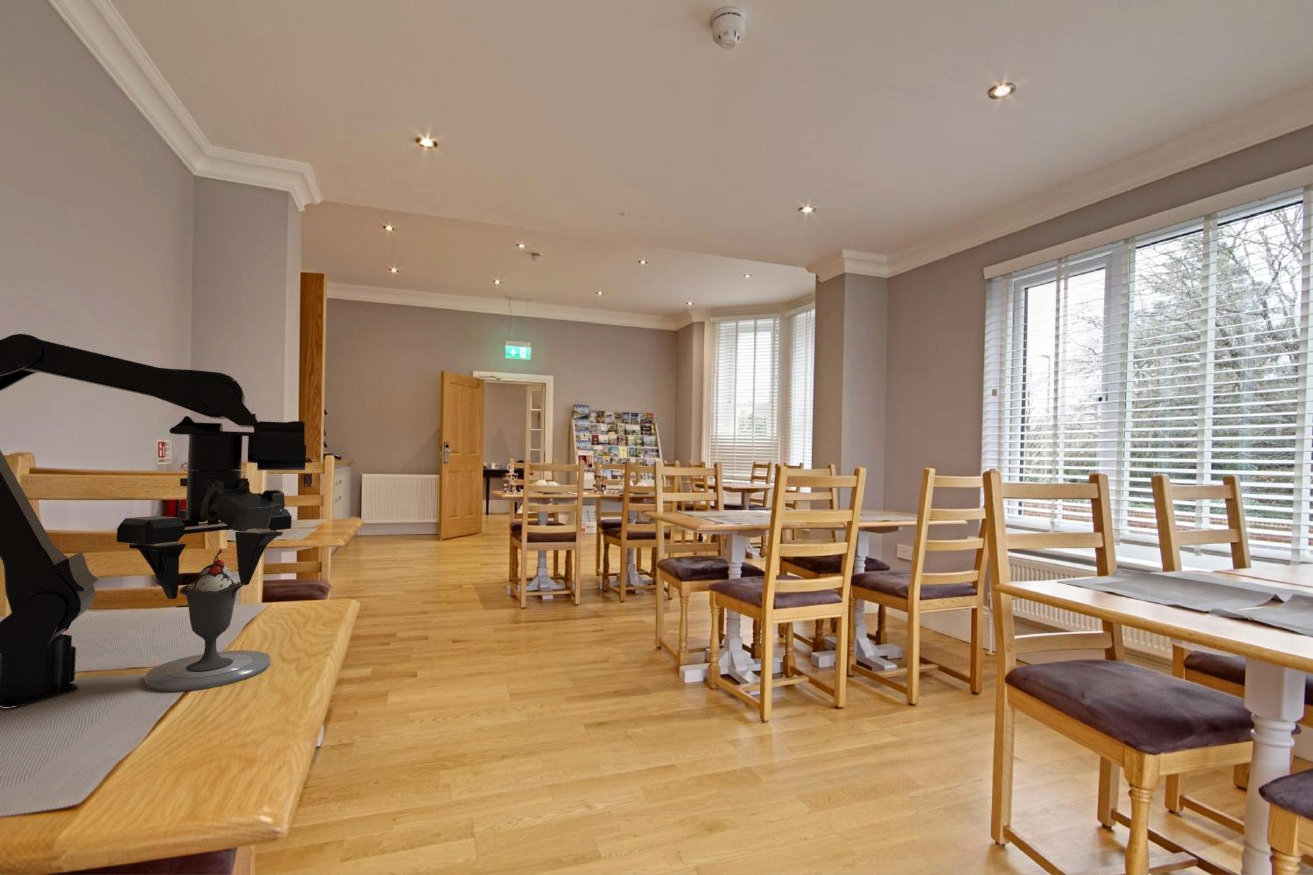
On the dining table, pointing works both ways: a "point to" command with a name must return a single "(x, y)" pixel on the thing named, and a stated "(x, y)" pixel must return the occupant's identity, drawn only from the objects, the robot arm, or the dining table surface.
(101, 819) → the dining table surface
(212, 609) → the sundae
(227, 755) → the dining table surface
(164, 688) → the slate plate
